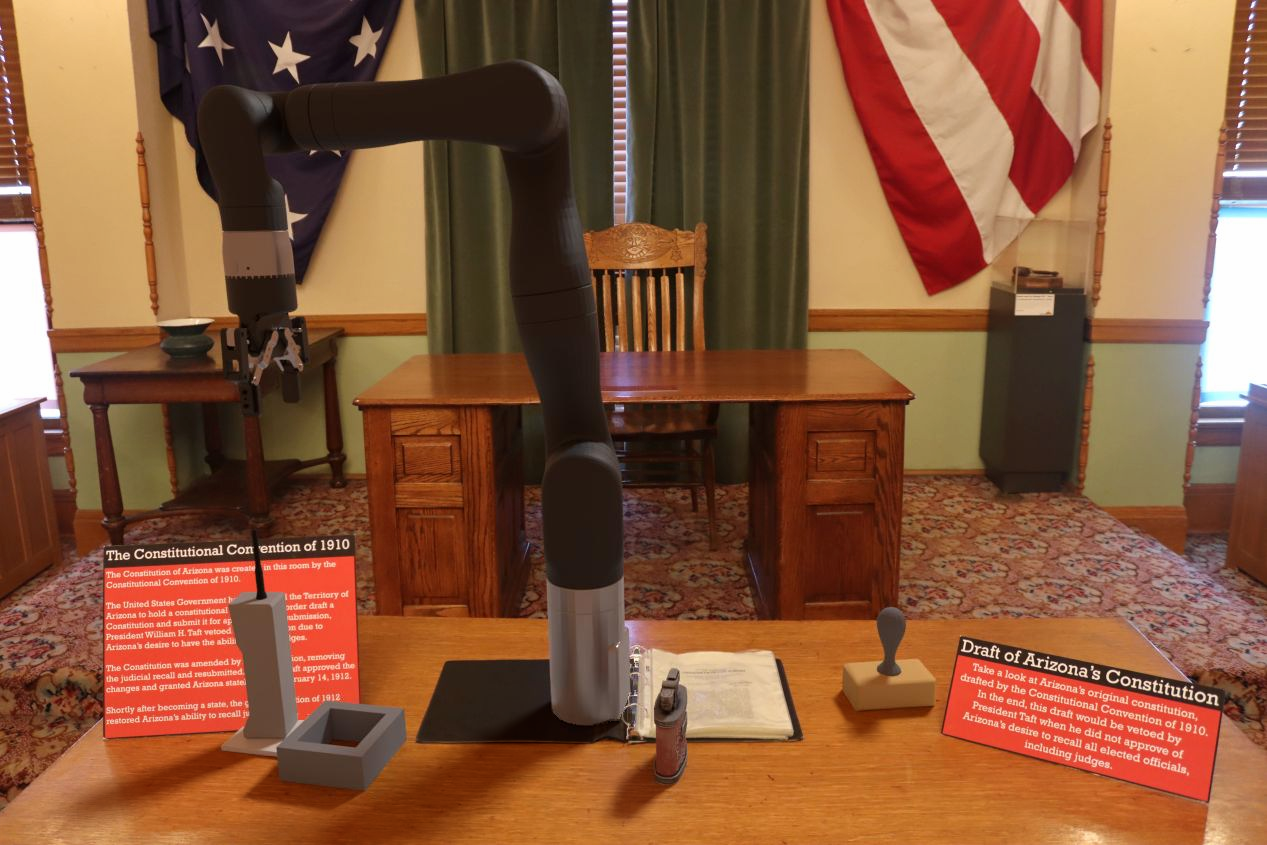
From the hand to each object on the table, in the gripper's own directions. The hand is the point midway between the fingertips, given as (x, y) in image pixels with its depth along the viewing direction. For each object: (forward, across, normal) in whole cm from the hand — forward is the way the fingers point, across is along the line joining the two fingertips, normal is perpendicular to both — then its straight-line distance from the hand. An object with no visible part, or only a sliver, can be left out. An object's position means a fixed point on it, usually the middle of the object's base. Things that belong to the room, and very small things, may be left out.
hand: (273, 409), depth 110 cm
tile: (+37, -9, -1) cm, 38 cm away
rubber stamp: (+38, +11, -73) cm, 83 cm away
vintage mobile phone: (+37, -9, -1) cm, 38 cm away
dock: (+37, -12, -12) cm, 41 cm away
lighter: (+37, -8, -48) cm, 62 cm away
